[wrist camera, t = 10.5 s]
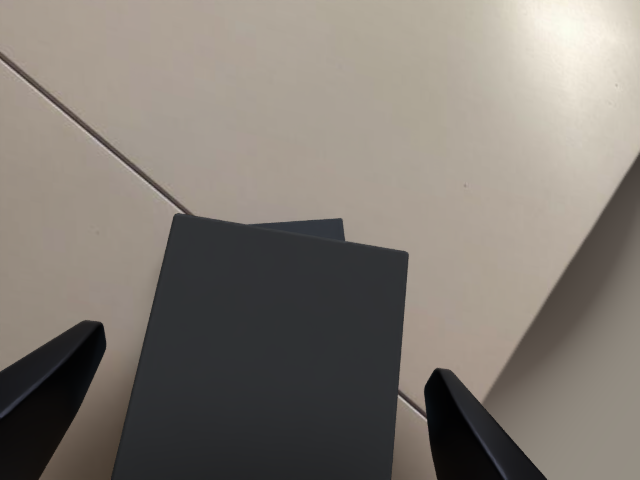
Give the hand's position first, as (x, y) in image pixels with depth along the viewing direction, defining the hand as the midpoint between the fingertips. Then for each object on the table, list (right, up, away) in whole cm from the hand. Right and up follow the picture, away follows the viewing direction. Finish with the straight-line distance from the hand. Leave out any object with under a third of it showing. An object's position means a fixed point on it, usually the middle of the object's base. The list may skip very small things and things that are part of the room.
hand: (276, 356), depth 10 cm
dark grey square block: (-1, -1, +8) cm, 8 cm away
